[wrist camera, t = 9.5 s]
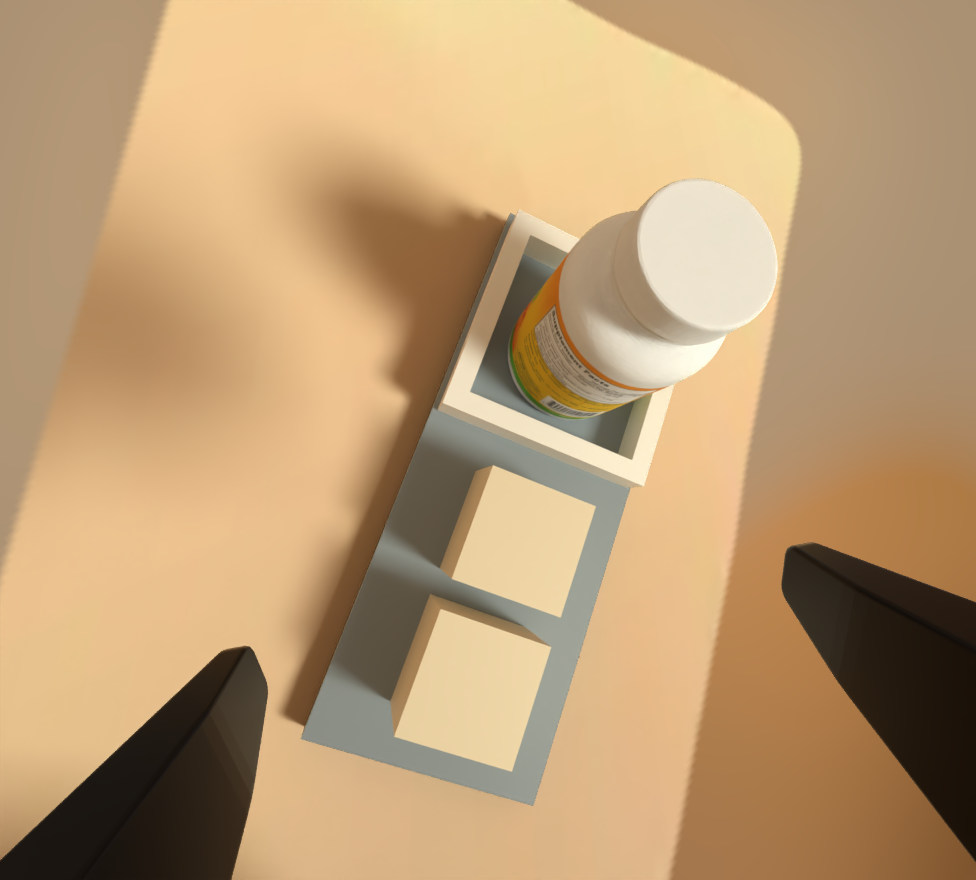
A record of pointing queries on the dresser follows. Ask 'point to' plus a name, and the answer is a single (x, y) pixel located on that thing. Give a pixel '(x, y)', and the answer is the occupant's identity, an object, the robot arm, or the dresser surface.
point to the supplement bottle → (643, 300)
